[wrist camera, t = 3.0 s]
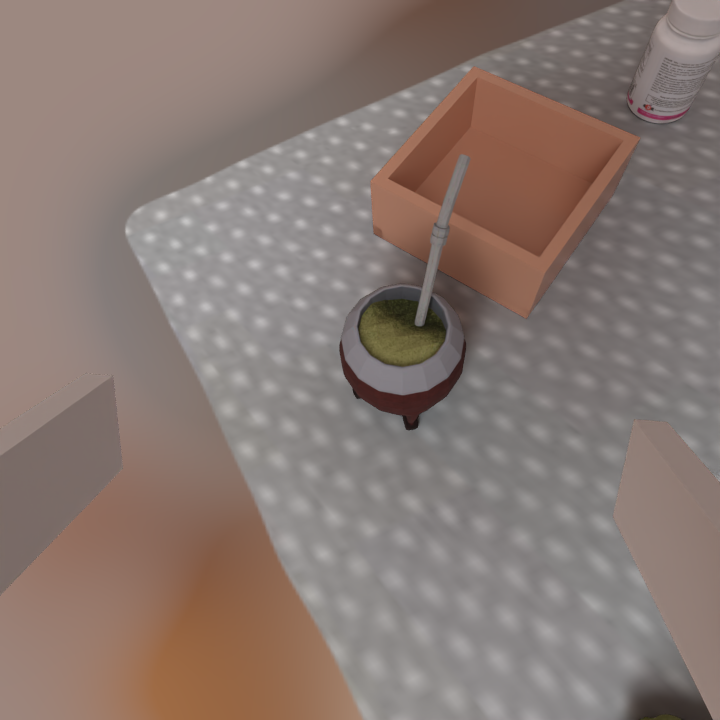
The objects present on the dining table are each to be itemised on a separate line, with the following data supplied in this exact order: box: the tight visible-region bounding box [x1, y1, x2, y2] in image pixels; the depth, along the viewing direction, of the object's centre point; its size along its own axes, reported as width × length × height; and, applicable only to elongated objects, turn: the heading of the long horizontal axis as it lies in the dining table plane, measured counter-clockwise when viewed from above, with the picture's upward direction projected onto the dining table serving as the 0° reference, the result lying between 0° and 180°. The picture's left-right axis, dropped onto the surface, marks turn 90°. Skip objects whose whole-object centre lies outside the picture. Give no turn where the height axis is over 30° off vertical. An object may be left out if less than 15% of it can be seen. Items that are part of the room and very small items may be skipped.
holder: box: [370, 67, 640, 319], centre depth 41 cm, size 13×13×6 cm
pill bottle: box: [627, 0, 720, 123], centre depth 43 cm, size 5×5×8 cm
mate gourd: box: [340, 154, 471, 430], centre depth 32 cm, size 8×8×15 cm
